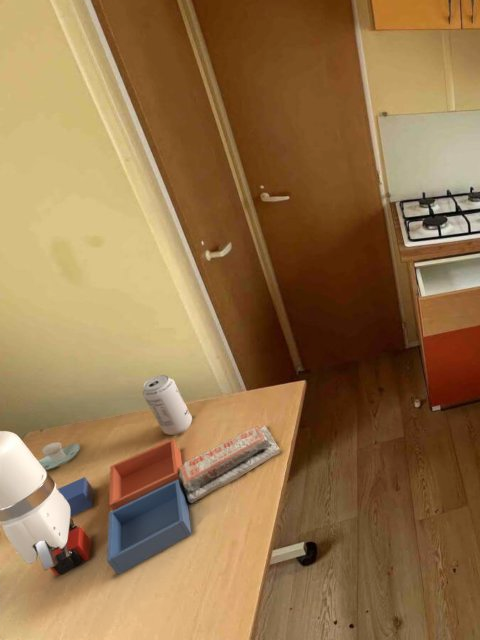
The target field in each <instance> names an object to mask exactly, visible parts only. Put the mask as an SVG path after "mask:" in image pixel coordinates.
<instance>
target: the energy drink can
mask: <svg viewBox="0 0 480 640" xmlns="http://www.w3.org/2000/svg"><path fill="white" fill-rule="evenodd" d="M142 389H143V391H142V395H143V397H144V399H145V402H146V403H147V405H148V406H149V409H150V410H151V412H152V414H153V416H154V417H155V420H156V421H157V423H158V425H159V427H160V428H161V430H162V433H164V434H166V435H169V436H174V435H175V436H176V435H178V434H181V433H183V432H185V431H186V430H187V429H189V428H190V426H191V423H192V421H193V417H192V414H191V413H190V410H189V408H188V406H187V404H186V402H185V400H184V399H183V397H182V394H181V393H180V390H179V389H178V386H177V384H176V382H175V380H174V379H172V378H170V377H169V376H168V375H167V374H161V375H160V374H159V375H156V376H154V377H152V378H150V379H148V380H147V381H145V382H144V384H143V385H142Z"/></svg>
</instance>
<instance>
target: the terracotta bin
mask: <svg viewBox="0 0 480 640" xmlns="http://www.w3.org/2000/svg"><path fill="white" fill-rule="evenodd" d="M182 464H183V460H182V452H181V450H180V448H179V445H177V443H176V440H175V438H170V440H167V441H165V442H163V443H160V444H158V445H156V446H153V447H151V448H149V449H146V450H144V451H142V452H140V453H138V454H135V455H132V456H130V457H128V458H125V459H124V460H122V461H121V460H120V461H119V462H117V463H115V464H112V465H111V466H109V467H110V470H109V494H108V495H109V501H108V506H109V507H110V509H111V511H113V510H115V509H117V508H119V507H122V506H124V505H126V504H128V503H130V502H132V501H134V500H136V499H138V498H140V497H142V496H144V495H146V494H148V493H150V492H152V491H155V490H157V489H159V488H161V487H163V486H165V485H167V484H169V483H171V482H173V481H175V480H177V479H179V481H180V483H181V485H182V486H183V488H184V485H183V483H182V482H181V479H180V476H179V473H180V468H181V465H182Z"/></svg>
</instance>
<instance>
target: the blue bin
mask: <svg viewBox="0 0 480 640" xmlns="http://www.w3.org/2000/svg"><path fill="white" fill-rule="evenodd" d="M188 506H189V504H188V497H187V494H186V491H185V488H184V487H183V486H182V485H181V483H180V481H179V479H177V480H175V481H173V482H171V483H169V484H167V485H165V486H163V487H161V488H159V489H157V490H155V491H152V492H150V493H148V494H146V495H144V496H142V497H140V498H138V499H136V500H134V501H132V502H130V503H128V504H126V505H124V506H122V507H119V508H117V509H115V510H111V511H110V512H108V524H107V525H108V526H107V529H108V530H107V555H106V556H107V557H106V558H107V559H106V562H107V563H108V564H109V565H110V567H111V568H112V569H113V570H114V571H115V573H116V574H117V575H120V574H122V573H124V572H126V571H128V570H129V569H131V568H133V567H135V566H137V565H138V564H140V563H142V562H144V561H146V560H147V559H149V558H151V557H153V556H155V555H157V554H158V553H160V552H162V551H164V550H166V549H167V548H169V547H172V546H173V545H175V544H176V543H178V542H180V541H182V540H183V539H185V538H187V537H189V536H191V535H192V527H191V519H190V513H189V507H188Z"/></svg>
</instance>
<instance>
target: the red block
mask: <svg viewBox="0 0 480 640" xmlns="http://www.w3.org/2000/svg"><path fill="white" fill-rule="evenodd" d="M91 544H92V539H91V537H90V536H89V535H88V534H87V532H86V531H84V529H83V528H82V526H81V525H79V526H77V528H75V529H73V530H71V531H69V532H68V539H67V545H68V546H69V548H70V550H73V549H74V550H75V551H76V552H77V553H78V554H79V555H80V557H81V558H82V559H83V563H84V562H86V561H88V560H90V559H91ZM62 552H63V551H62V550H61V549H57V550H55V551H53V554H54V556H56V555H57V554H59V553H62ZM49 570H51V571H52V573H54V575H56V576H60V575H59V574H58V573H57V571H56V570H55V569H54V568H53V567H51V568H50V569H49Z"/></svg>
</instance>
